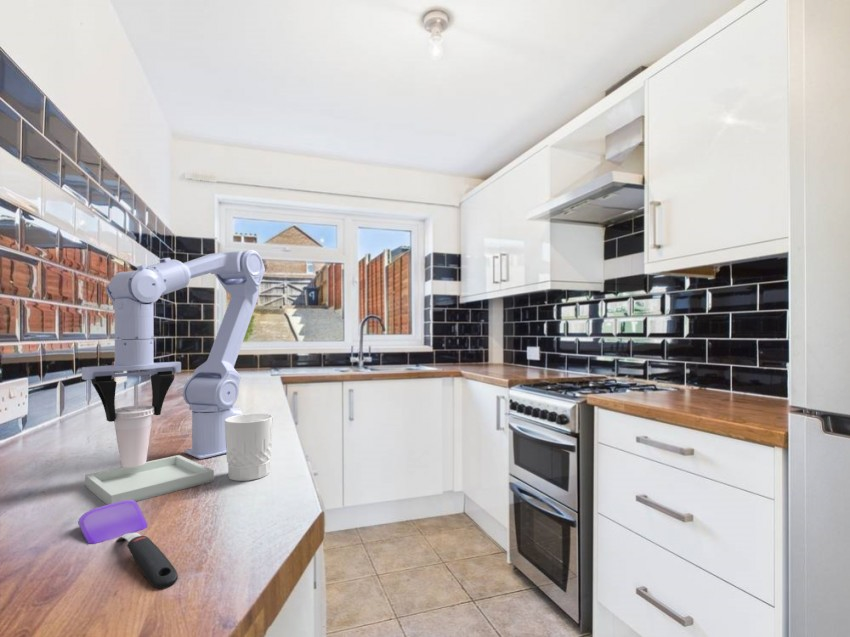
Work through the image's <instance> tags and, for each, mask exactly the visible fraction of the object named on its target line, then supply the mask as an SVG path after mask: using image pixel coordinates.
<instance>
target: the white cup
mask: <svg viewBox="0 0 850 637" xmlns="http://www.w3.org/2000/svg"><path fill="white" fill-rule="evenodd" d="M273 417H274V416H273V415H272V414H268V413H245V414H244V413H243V415H237V416H232V417H229V418H226V419H225V439H226V453H225V454H226V462H227V467H228V470H227V471H228V479H229V480H231V481H236V482H246V481H247V482H248V481H249V482H250V481H255V480H259V479H262V478H265V477H267V476H268V475H269V474H270V473H271V472H270V471H271V467H270V466H271V465H270V464H271V456H272V443H273V442H272V441H273V419H274V418H273Z"/></svg>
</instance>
